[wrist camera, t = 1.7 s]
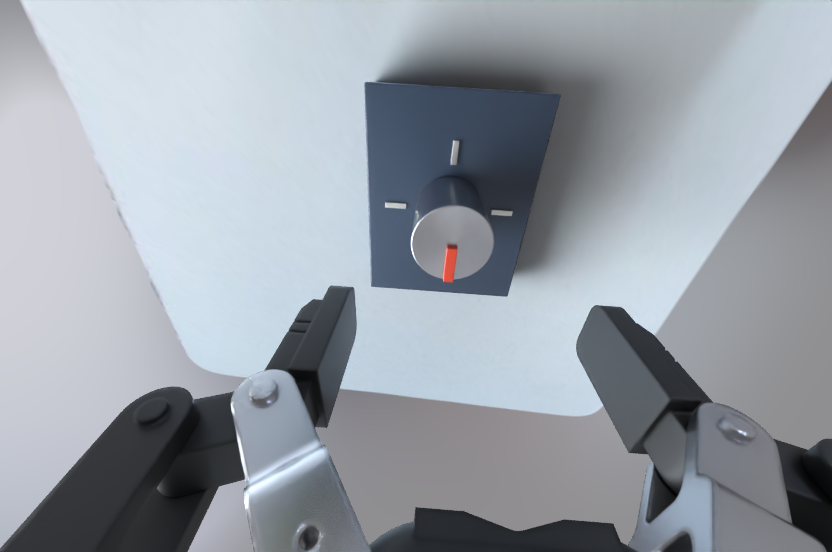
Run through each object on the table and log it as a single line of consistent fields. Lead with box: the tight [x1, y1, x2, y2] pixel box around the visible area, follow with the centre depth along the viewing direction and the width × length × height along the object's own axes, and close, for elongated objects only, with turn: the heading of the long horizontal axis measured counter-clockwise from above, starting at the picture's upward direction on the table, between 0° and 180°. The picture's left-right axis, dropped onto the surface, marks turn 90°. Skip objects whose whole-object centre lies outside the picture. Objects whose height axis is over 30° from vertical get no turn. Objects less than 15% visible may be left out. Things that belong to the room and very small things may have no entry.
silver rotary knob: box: [411, 176, 494, 283], centre depth 18 cm, size 4×4×6 cm
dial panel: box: [365, 82, 560, 296], centre depth 22 cm, size 14×11×3 cm
